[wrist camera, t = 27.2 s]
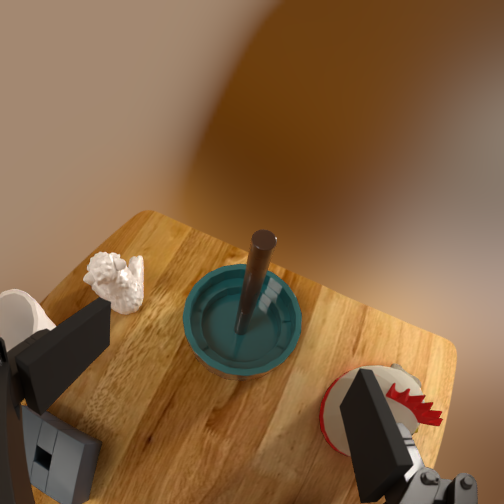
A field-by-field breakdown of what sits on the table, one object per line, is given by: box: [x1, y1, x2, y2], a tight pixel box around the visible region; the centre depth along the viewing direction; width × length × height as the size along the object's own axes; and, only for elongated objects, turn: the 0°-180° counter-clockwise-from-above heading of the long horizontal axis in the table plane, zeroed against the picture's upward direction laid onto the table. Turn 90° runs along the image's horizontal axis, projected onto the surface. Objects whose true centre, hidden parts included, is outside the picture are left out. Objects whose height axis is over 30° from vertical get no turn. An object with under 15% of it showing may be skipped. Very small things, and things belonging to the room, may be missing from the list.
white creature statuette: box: [83, 252, 144, 315], centre depth 36 cm, size 10×9×12 cm
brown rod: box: [234, 230, 277, 335], centre depth 30 cm, size 2×2×22 cm
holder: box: [21, 405, 102, 504], centre depth 24 cm, size 11×11×6 cm
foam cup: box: [0, 288, 56, 352], centre depth 29 cm, size 10×9×13 cm
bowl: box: [183, 264, 302, 381], centre depth 38 cm, size 15×15×6 cm
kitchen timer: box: [319, 364, 443, 457], centre depth 29 cm, size 14×14×15 cm
